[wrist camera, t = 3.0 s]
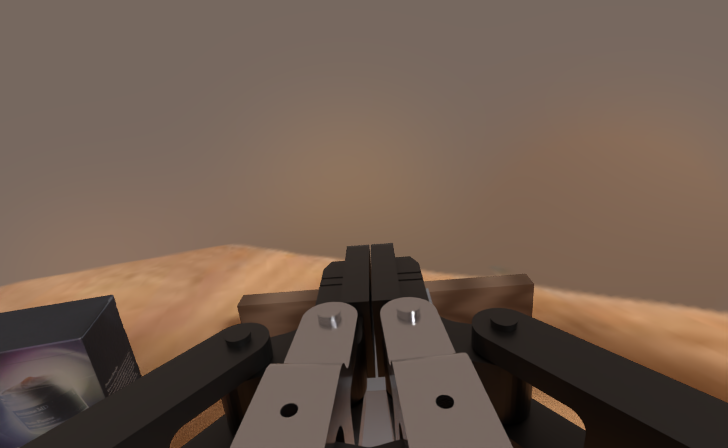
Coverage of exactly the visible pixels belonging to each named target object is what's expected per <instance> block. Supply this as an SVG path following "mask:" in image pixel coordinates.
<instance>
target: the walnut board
mask: <svg viewBox="0 0 728 448" xmlns="http://www.w3.org/2000/svg"><path fill="white" fill-rule="evenodd" d="M424 284H425V288H428V289H429V293H430V296H431V300H432V303H433V305H434V306H435V308H436V309H437V312H438V314H439V316H441V317H443V318H445V319H448V320H451V321H455V322H460V323H468V324H472V319H473V317H474V315H475V314H477V313H478V312H480V311H482V310H485V309H489V308H507V309H512V310H516V311H518V312H521V313H523V314H526V315H528V316H530V317H532V308H533V293H534V283H533V282H532V281H531V280H530V278H529V277H528V276H527V275H526V274H517V275H504V276H491V277H478V278H464V279H451V280H438V281H425V282H424ZM318 292H319V290H306V291H292V292H279V293H266V294H253V295H243V297H242V299H241V300H240V302H239V304H238V306H237V307H238V312H239V316H240V320H241V323H259V324H262V325H264V326H265V327H266V328H267V329H268V330H269V334H270V337H273V336H277V335H281V334H285V333H288V332H291V331H294V330H296V329H298V326H299V324H300V322H301V319H302V317H303V315H304V314H305V313H306V312H307V311H308V310H309V309H311V308H312V307H314V306H315V304H316V300H317V296H318Z"/></svg>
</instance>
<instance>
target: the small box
mask: <svg viewBox="0 0 728 448" xmlns="http://www.w3.org/2000/svg"><path fill="white" fill-rule="evenodd" d="M141 377H142V376H141V374H140V371H139V367H138V365H137V363H136V360H135V357H134V354H133V351H132V348H131V346H130V343H129V340H128V337H127V334H126V332H125V329H124V328H123V324H122V321H121V319H120V316H119V312H118V309H117V307H116V302H115V299H114V296H113V295H108V296H101V297H95V298H90V299H83V300H77V301H71V302H65V303H59V304H53V305H47V306H41V307H35V308H28V309H23V310H16V311H10V312H4V313H0V448H20V447H21V446H23V445H25V444H27V443H28V442H30V441H32V440H34V439H35V438H37V437H39V436H40V435H42V434H44V433H46V432H47V431H49V430H51V429H53V428H54V427H56V426H58V425H60V424H61V423H63V422H65V421H66V420H68V419H70V418H72V417H73V416H75V415H77V414H79V413H80V412H82V411H84V410H85V409H87V408H89V407H91V406H92V405H94V404H96V403H98V402H99V401H101V400H103V399H105V398H106V397H108V396H110V395H111V394H113V393H115V392H117V391H118V390H120V389H122V388H124V387H125V386H127V385H129V384H130V383H132V382H134V381H136V380H137V379H139V378H141Z"/></svg>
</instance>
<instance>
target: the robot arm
mask: <svg viewBox="0 0 728 448" xmlns="http://www.w3.org/2000/svg"><path fill="white" fill-rule="evenodd" d="M375 345H376V357H377V369H378V377H385V383H386V396H387V406H388V412H389V419H390V425H391V432H392V438H393V441H392V442H389V443H385V444H382V445H378V446H374V447H363V446H362V441H363V431H364V421H365V411H366V394H365V393H366V390H367V378H376V371H375ZM532 386H534V387H535V388H537V389H539V390H541V391H542V392H544V393H546V394H547V395H549V396H551V397H553V398H554V399H556V400H558V401H559V402H561V403H563V404H565V405H566V406H568V407H570V408H571V409H572V410H573V411H575V412H576V413H577V414H578V416H579V417H580V418H581V420H582V421H583V423H584V425H585V429H586V431H585V430H583V429H582V428H580V427H579V426H577V425H575V424H574V423H572V422H570V421H569V420H567V419H565V418H564V417H562V416H560V415H559V414H557V413H555V412H554V411H552V410H551V409H549V408H547V407H546V406H544V405H542V404H541V403H539V402H537V401H536V400H534V399H532V398H531V396H532ZM220 399H221V400H222V404H223V407H224V411H225V414H224V415H223V416H222V417H221V418H219V419H218V420H217V421H215V422H214V423H213V424H211V425H210V426H209V427H207V428H206V429H205V430H203V431H202V432H201V433H199V434H198V435H197V436H195V437H194V438H193V439H191V440H190V441H189V442H187V443H186V444H185V445H183V446H182V447H181V448H728V403H727V402H724V401H722V400H720V399H718V398H715V397H713V396H711V395H708V394H706V393H704V392H702V391H699V390H697V389H695V388H692V387H690V386H688V385H686V384H683V383H681V382H679V381H676V380H674V379H672V378H670V377H667V376H665V375H663V374H660V373H658V372H656V371H654V370H651V369H649V368H647V367H644V366H642V365H640V364H638V363H635V362H633V361H631V360H628V359H626V358H624V357H622V356H619V355H617V354H615V353H612V352H610V351H608V350H606V349H603V348H601V347H599V346H596V345H594V344H592V343H590V342H587V341H585V340H583V339H580V338H578V337H576V336H574V335H571V334H569V333H567V332H564V331H562V330H560V329H558V328H555V327H553V326H551V325H548V324H546V323H544V322H542V321H539V320H537V319H535V318H532V317H530V316H528V315H526V314H523V313H521V312H518V311H516V310H512V309H507V308H489V309H485V310H482V311H480V312H478V313H477V314H475V315H474V317H473V319H472V324H468V323H460V322H455V321H451V320H448V319H445V318H443V317H441V316H439V314H438V312H437V309H436V308H435V306H434V305H433V304H432V303H430V302H429V299H428V295H427V292H426V288H425V284H424V281H423V277H422V274H421V270H420V266H419V263H418V262H416V261H415V260H414V259H413V258H411V257H395V254H394V248H393V243H388V244H372V245H371V260H370V249H369V245H361V246H360V245H359V246H347V250H346V258H345V261H337V262H331V263H330V264H329V265H328V266H327V267H326V268H325V269H324V270H323V275H322V280H321V283H320V287H319V292H318V296H317V300H316V304H315V306H314V307H312V308H311V309H309V310H308V311H307V312H306V313H305V314H304V315H303V317H302V319H301V322H300V324H299V326H298V329H296V330H294V331H291V332H288V333H285V334H281V335H277V336H273V337H270V334H269V330H268V329H267V328H266V327H265V326H264V325H262V324H259V323H241V324H237V325H234V326H231V327H228V328H226V329H224V330H222V331H220V332H219V333H217V334H215V335H214V336H212V337H210V338H208V339H207V340H205V341H203V342H201V343H200V344H198V345H196V346H194V347H193V348H191V349H189V350H188V351H186V352H184V353H182V354H181V355H179V356H177V357H175V358H174V359H172V360H170V361H169V362H167V363H165V364H163V365H162V366H160V367H158V368H156V369H155V370H153V371H151V372H149V373H148V374H146V375H144V376H143V377H141V378H139V379H137V380H136V381H134V382H132V383H130V384H129V385H127V386H125V387H124V388H122V389H120V390H118V391H117V392H115V393H113V394H111V395H110V396H108V397H106V398H105V399H103V400H101V401H99V402H98V403H96V404H94V405H92V406H91V407H89V408H87V409H85V410H84V411H82V412H80V413H79V414H77V415H75V416H73V417H72V418H70V419H68V420H66V421H65V422H63V423H61V424H60V425H58V426H56V427H54V428H53V429H51V430H49V431H47V432H46V433H44V434H42V435H40V436H39V437H37V438H35V439H34V440H32V441H30V442H28V443H27V444H25V445H23V446H21V447H20V448H169V447H170V443H171V440H172V438H173V437H174V435H175V434H176V432H177V431H178V430H179V429H180V428H181V427H182V426H184V425H185V424H186V423H188V422H189V421H191V420H192V419H193V418H195V417H196V416H197V415H199V414H200V413H202V412H203V411H204V410H206V409H207V408H209V407H210V406H211V405H213V404H214V403H216V402H217V401H218V400H220Z"/></svg>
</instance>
